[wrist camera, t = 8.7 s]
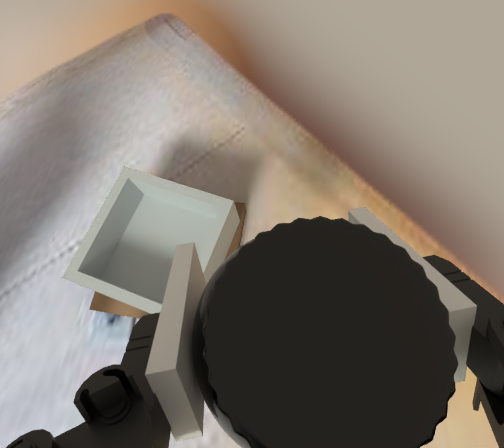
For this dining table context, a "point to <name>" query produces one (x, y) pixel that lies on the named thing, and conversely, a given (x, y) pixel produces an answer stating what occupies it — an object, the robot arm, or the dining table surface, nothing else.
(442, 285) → the robot arm
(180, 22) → the dining table surface
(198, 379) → the supplement bottle
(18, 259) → the dining table surface
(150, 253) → the grey square open box
